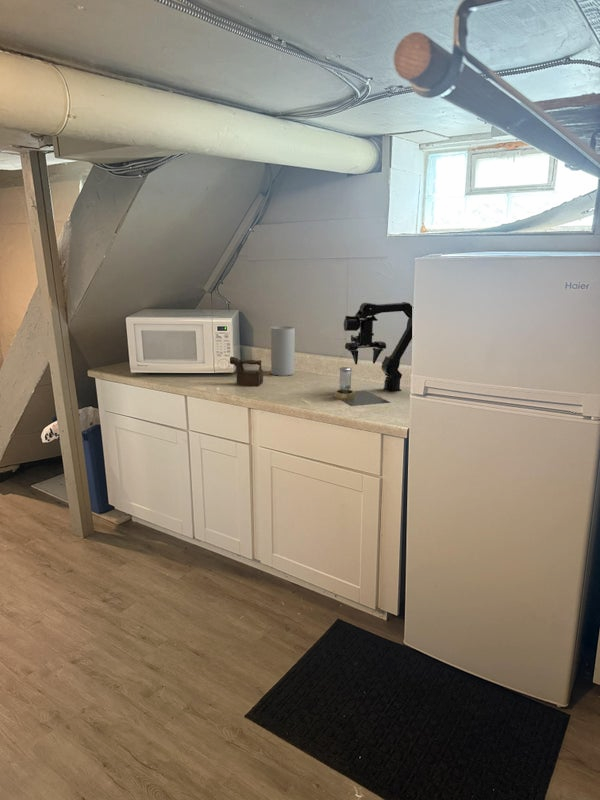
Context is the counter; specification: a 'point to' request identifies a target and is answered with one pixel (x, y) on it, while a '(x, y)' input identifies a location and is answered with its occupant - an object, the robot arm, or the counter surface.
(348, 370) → the grey cylindrical piece
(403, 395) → the counter surface
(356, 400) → the base
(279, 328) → the cylinder vase
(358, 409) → the counter surface
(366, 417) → the counter surface
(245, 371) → the clothes iron
